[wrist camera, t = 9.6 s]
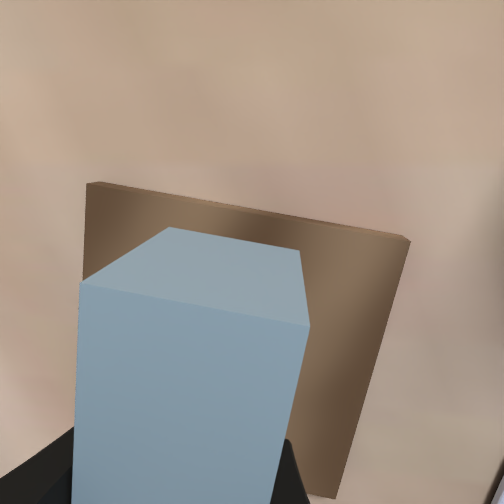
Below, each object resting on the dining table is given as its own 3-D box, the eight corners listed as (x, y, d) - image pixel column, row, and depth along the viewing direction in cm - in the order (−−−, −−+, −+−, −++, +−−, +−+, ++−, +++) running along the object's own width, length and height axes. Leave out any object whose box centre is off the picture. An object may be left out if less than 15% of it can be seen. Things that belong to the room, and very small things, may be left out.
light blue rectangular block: (242, 525, 14) (219, 723, 9) (140, 503, 14) (64, 686, 9) (299, 250, 11) (310, 326, 6) (168, 226, 11) (79, 282, 6)
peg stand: (402, 235, 14) (438, 261, 11) (332, 480, 17) (343, 559, 14) (99, 181, 14) (43, 189, 11) (87, 429, 18) (40, 493, 14)
